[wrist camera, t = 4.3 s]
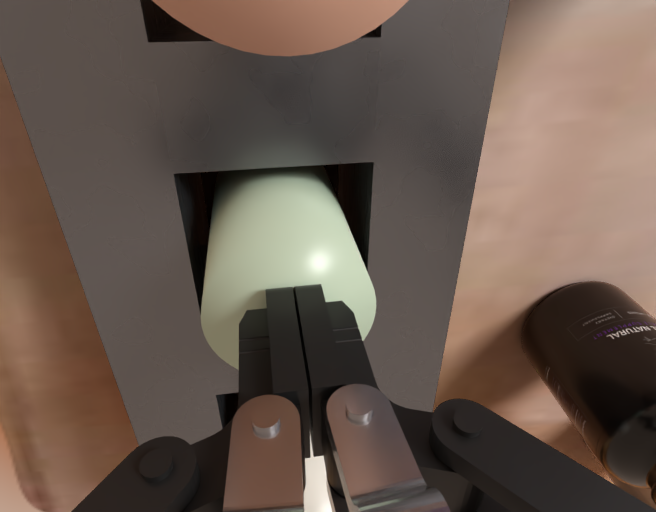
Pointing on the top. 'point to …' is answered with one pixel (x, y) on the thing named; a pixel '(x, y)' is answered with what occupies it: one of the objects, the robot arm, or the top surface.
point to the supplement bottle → (601, 373)
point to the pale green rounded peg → (277, 249)
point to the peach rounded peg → (282, 22)
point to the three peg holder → (250, 153)
